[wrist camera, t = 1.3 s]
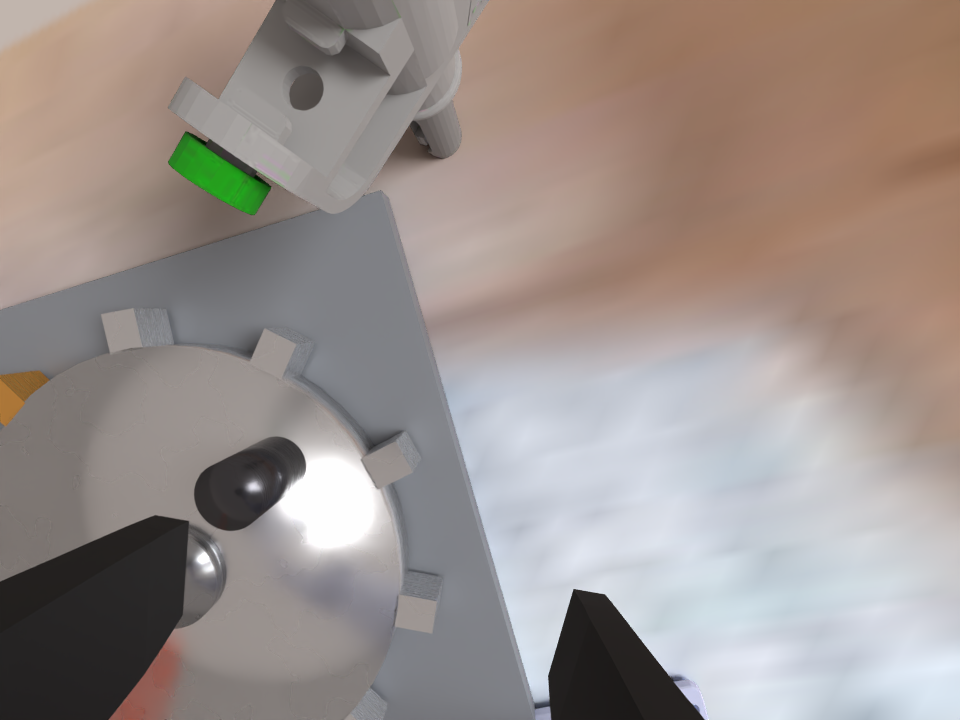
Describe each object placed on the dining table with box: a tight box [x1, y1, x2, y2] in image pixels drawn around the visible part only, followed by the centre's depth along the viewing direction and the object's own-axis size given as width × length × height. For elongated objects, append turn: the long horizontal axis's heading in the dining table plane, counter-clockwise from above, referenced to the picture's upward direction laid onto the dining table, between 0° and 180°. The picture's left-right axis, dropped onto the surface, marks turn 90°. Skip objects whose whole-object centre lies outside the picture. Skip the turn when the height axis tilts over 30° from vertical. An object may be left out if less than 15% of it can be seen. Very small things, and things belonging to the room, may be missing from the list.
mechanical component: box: [168, 0, 489, 215], centre depth 12 cm, size 3×10×10 cm, turn 145°
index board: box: [0, 190, 536, 720], centre depth 19 cm, size 22×24×2 cm
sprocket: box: [0, 308, 443, 720], centre depth 16 cm, size 18×19×4 cm
